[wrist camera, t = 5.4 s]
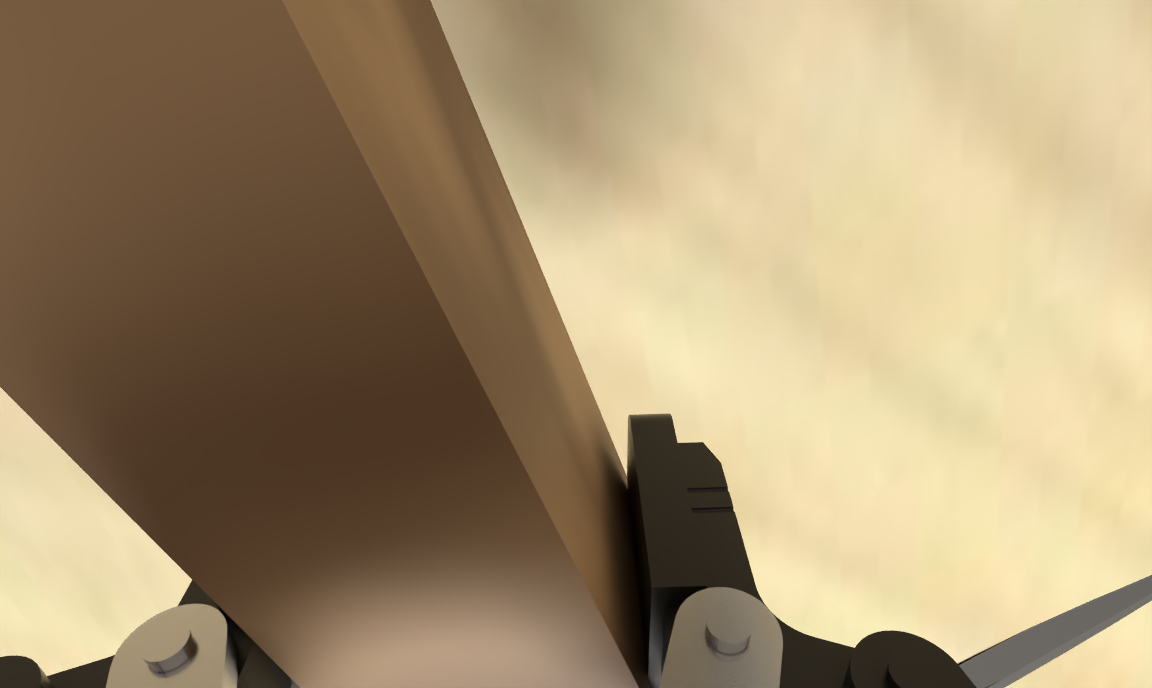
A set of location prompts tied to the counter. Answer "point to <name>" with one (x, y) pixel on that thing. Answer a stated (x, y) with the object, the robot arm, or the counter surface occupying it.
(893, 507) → the counter surface
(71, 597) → the counter surface
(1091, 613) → the dagger
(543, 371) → the bar
